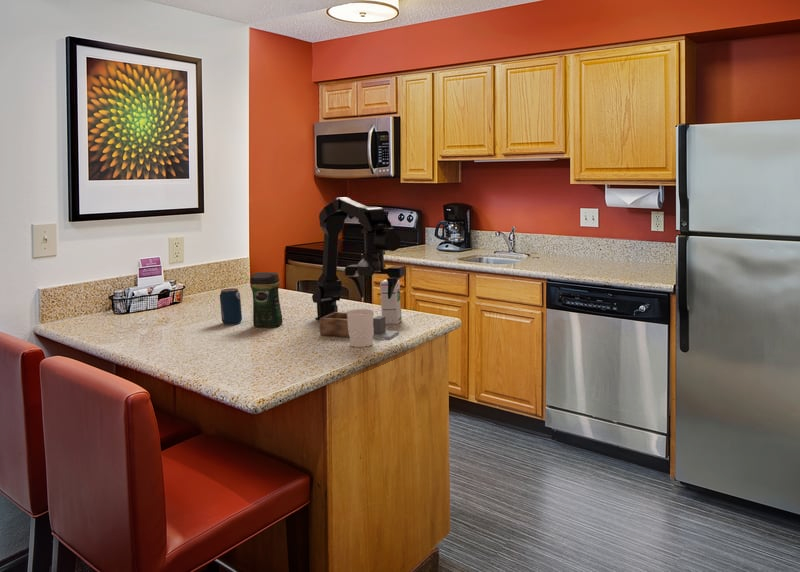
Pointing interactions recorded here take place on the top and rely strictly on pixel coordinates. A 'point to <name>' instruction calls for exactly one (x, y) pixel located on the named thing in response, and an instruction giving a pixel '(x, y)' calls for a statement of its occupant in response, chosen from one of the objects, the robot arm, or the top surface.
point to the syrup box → (391, 303)
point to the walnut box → (334, 325)
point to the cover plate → (386, 335)
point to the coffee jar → (266, 299)
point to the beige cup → (360, 327)
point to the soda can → (230, 306)
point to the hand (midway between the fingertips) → (375, 298)
